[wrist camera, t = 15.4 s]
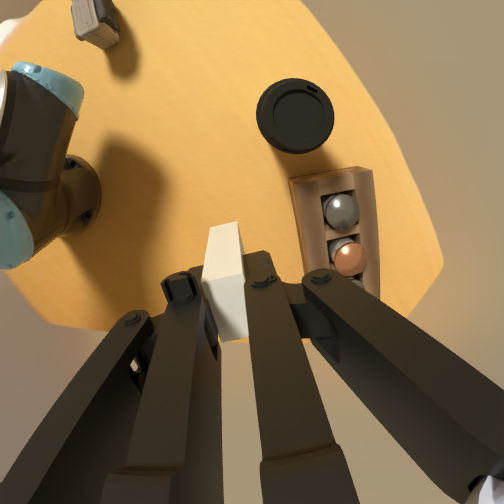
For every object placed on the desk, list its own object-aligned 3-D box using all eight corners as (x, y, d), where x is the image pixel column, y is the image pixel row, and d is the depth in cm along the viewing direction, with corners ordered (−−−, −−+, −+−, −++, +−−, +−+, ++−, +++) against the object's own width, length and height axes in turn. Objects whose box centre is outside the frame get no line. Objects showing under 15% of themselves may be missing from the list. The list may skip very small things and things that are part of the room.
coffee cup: (238, 134, 46) (243, 132, 32) (264, 83, 43) (279, 61, 30) (292, 159, 49) (317, 169, 35) (317, 110, 46) (351, 101, 32)
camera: (88, 10, 34) (65, -9, 25) (116, -4, 34) (97, -25, 25) (97, 55, 38) (72, 42, 29) (126, 41, 38) (106, 24, 29)
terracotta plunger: (324, 262, 54) (337, 279, 47) (321, 234, 51) (333, 248, 45) (353, 255, 53) (368, 271, 47) (350, 227, 51) (366, 240, 45)
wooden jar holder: (309, 307, 59) (317, 324, 54) (287, 179, 50) (295, 184, 44) (368, 291, 59) (380, 306, 54) (357, 166, 50) (372, 170, 44)
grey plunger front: (317, 221, 52) (329, 233, 46) (312, 190, 50) (324, 198, 44) (346, 214, 52) (361, 225, 46) (342, 184, 50) (357, 191, 44)
